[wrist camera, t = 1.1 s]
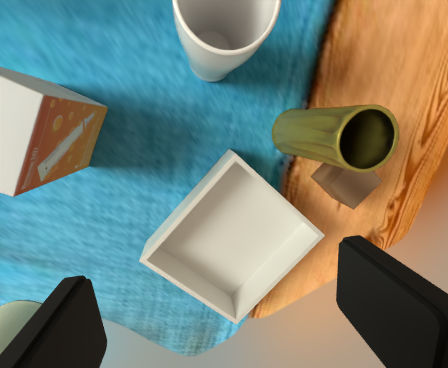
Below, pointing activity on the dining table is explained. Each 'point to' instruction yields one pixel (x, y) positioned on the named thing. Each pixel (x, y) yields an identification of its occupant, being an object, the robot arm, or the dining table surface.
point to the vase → (339, 135)
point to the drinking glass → (222, 32)
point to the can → (14, 319)
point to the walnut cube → (346, 184)
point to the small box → (43, 131)
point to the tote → (230, 239)
